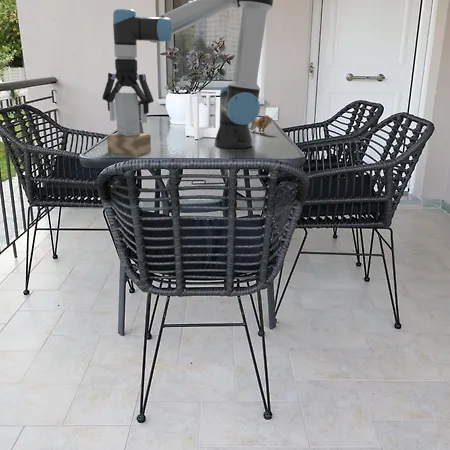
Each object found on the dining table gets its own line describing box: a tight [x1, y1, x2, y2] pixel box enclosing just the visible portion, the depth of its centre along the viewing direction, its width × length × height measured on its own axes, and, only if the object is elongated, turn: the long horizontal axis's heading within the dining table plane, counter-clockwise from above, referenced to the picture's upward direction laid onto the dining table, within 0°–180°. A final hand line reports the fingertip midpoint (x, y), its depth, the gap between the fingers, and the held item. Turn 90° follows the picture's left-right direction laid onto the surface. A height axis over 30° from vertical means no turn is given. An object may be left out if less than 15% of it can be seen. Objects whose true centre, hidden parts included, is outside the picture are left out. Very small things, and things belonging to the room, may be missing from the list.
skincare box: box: [114, 91, 140, 136], centre depth 171 cm, size 8×6×15 cm
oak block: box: [106, 132, 152, 157], centre depth 174 cm, size 12×10×6 cm
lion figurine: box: [249, 114, 273, 133], centre depth 227 cm, size 15×5×9 cm, turn 39°
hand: (128, 121), depth 172 cm, fingers open, 12 cm apart
